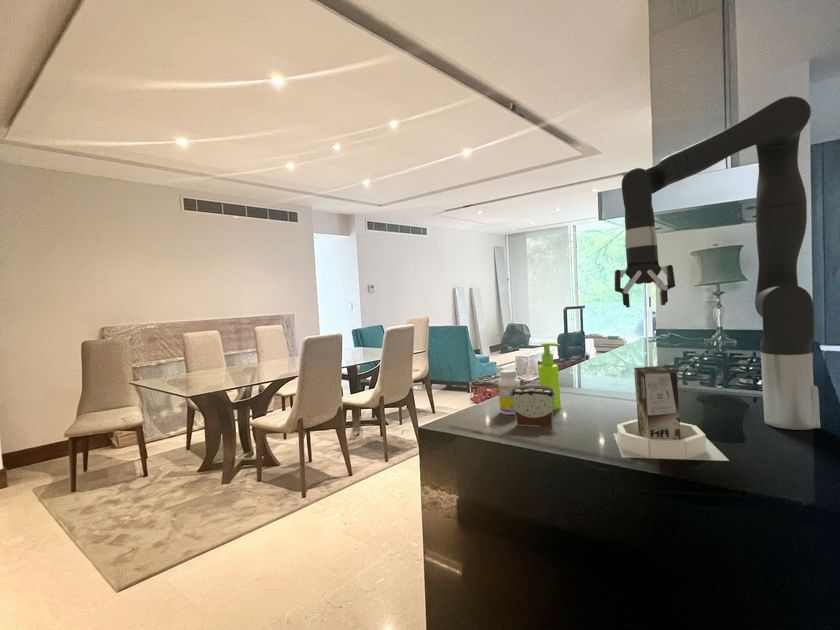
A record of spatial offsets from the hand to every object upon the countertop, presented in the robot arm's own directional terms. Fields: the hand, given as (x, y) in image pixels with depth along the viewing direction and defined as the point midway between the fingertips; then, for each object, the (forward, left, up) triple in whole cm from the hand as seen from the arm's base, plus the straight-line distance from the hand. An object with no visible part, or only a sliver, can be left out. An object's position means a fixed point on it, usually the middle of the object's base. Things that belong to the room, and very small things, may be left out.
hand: (645, 306), depth 116 cm
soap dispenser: (+26, -10, -30) cm, 41 cm away
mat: (+2, +25, -30) cm, 39 cm away
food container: (+30, +7, -30) cm, 43 cm away
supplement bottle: (+38, -4, -30) cm, 49 cm away
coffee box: (+3, +24, -29) cm, 38 cm away
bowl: (+3, +25, -30) cm, 39 cm away
